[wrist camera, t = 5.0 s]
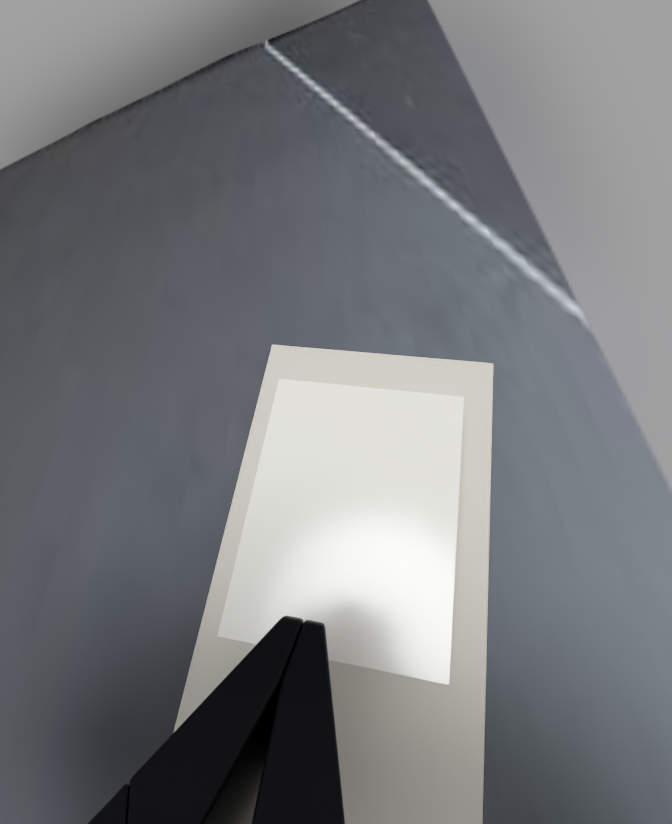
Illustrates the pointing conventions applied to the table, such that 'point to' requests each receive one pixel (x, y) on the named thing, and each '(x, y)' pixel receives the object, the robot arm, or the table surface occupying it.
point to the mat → (369, 688)
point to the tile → (355, 525)
